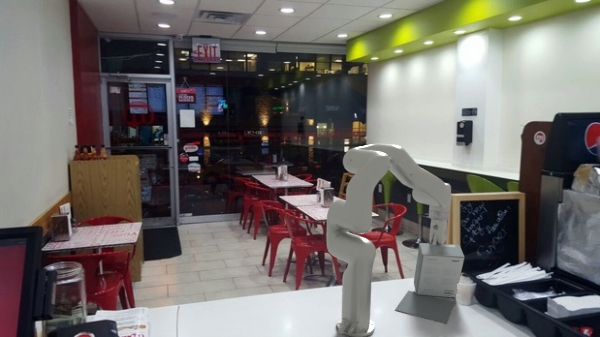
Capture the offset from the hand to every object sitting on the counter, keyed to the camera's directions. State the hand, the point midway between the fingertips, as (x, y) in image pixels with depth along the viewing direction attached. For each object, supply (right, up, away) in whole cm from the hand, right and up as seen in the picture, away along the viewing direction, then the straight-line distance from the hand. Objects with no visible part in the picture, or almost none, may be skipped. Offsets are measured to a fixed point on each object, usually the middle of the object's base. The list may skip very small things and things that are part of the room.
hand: (436, 258), depth 160 cm
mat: (-7, -16, -10) cm, 20 cm away
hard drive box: (-1, -13, +1) cm, 13 cm away
